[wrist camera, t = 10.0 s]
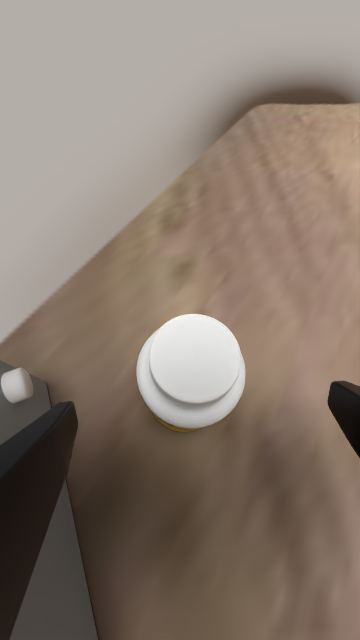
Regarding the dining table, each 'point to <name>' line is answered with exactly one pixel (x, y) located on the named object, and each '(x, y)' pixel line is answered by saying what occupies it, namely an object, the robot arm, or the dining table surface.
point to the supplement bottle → (191, 372)
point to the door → (47, 534)
